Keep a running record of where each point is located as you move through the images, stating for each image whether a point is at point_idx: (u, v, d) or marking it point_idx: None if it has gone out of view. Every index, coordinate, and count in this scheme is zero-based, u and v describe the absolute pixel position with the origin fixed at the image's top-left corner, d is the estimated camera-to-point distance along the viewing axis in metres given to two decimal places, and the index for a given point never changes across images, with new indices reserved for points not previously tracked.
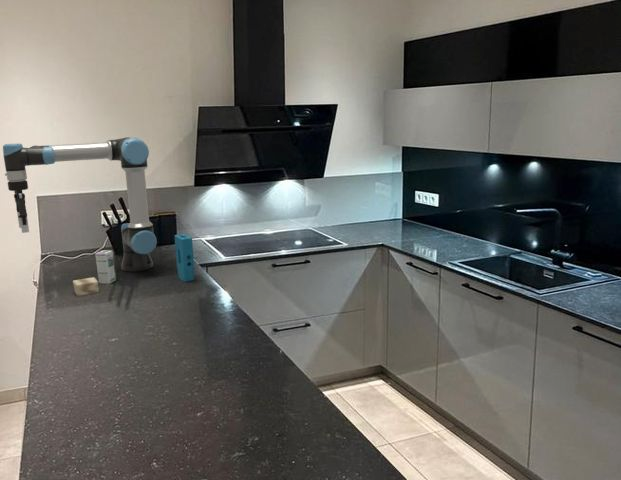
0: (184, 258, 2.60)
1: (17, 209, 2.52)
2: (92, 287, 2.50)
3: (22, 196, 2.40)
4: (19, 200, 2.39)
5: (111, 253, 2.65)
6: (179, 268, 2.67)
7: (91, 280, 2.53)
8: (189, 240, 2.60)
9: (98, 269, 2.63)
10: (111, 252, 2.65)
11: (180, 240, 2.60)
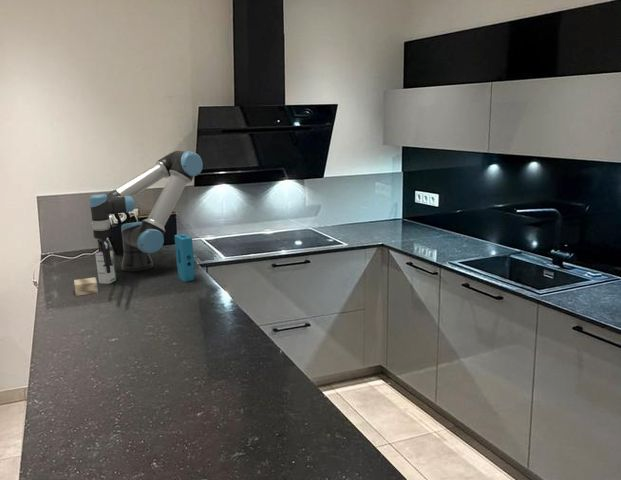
0: (184, 258, 2.60)
1: None
2: (91, 287, 2.49)
3: (108, 246, 2.58)
4: (105, 250, 2.58)
5: (111, 253, 2.65)
6: (179, 268, 2.67)
7: (91, 280, 2.53)
8: (189, 240, 2.60)
9: (98, 269, 2.63)
10: (111, 252, 2.65)
11: (180, 240, 2.60)
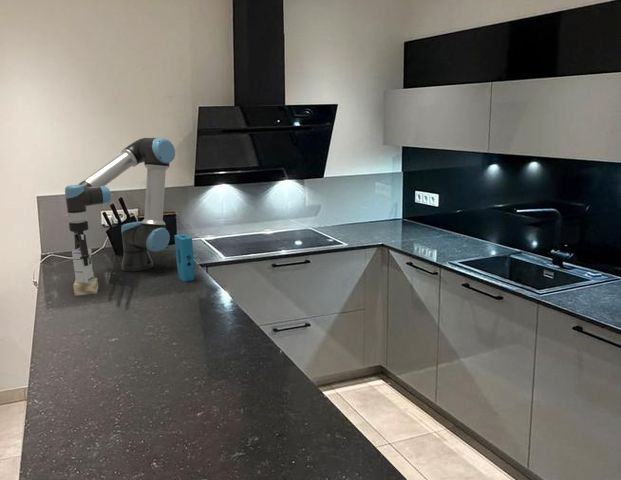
0: (184, 258, 2.60)
1: (76, 248, 2.54)
2: (90, 288, 2.49)
3: (84, 237, 2.42)
4: (81, 241, 2.42)
5: (89, 251, 2.50)
6: (179, 268, 2.67)
7: (91, 281, 2.52)
8: (189, 240, 2.60)
9: (75, 268, 2.48)
10: (89, 249, 2.50)
11: (180, 240, 2.60)
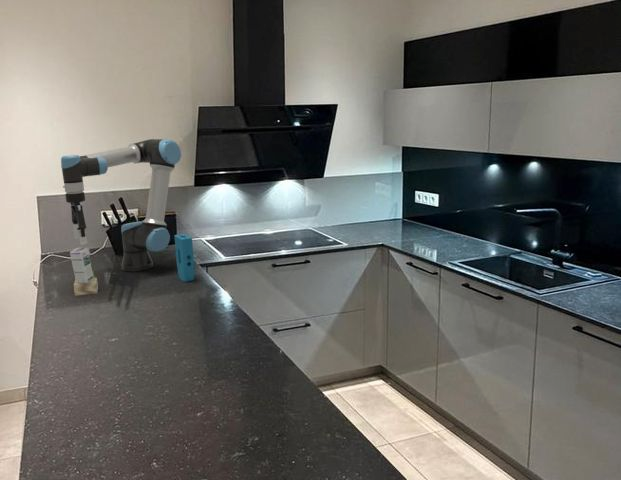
0: (184, 258, 2.60)
1: (73, 220, 2.51)
2: (90, 288, 2.49)
3: (81, 208, 2.40)
4: (78, 212, 2.39)
5: (87, 251, 2.49)
6: (179, 268, 2.67)
7: (91, 280, 2.53)
8: (189, 240, 2.60)
9: (74, 268, 2.48)
10: (87, 249, 2.49)
11: (180, 240, 2.60)
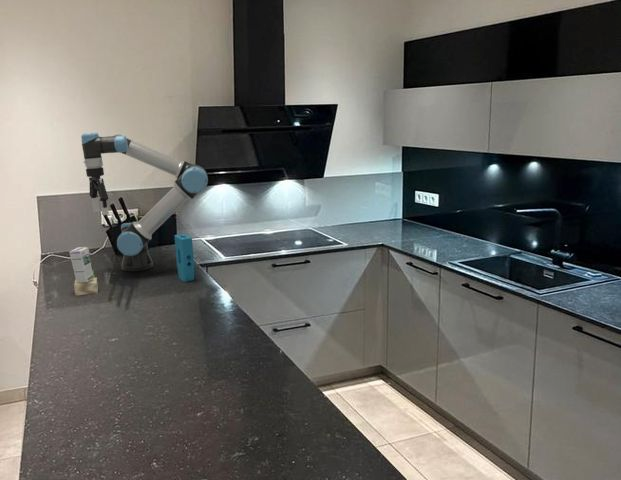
0: (184, 258, 2.60)
1: (92, 194, 2.71)
2: (90, 288, 2.49)
3: (102, 181, 2.60)
4: (100, 185, 2.59)
5: (86, 250, 2.50)
6: (179, 268, 2.67)
7: (91, 280, 2.53)
8: (189, 240, 2.60)
9: (74, 268, 2.49)
10: (86, 249, 2.50)
11: (180, 240, 2.60)
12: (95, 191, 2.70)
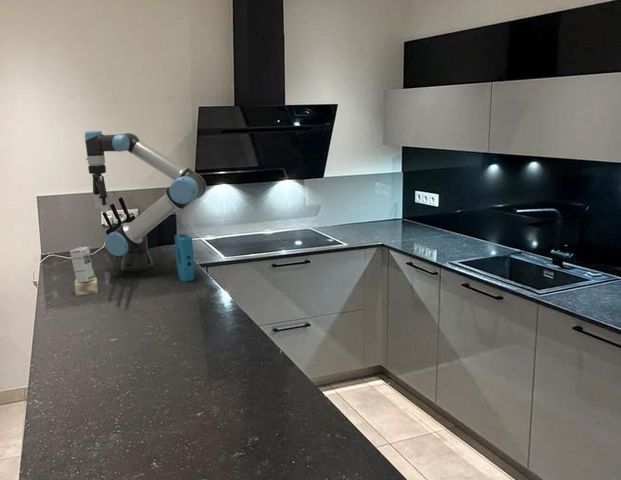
0: (184, 258, 2.60)
1: (94, 191, 2.75)
2: (91, 287, 2.49)
3: (102, 178, 2.63)
4: (100, 182, 2.62)
5: (87, 249, 2.51)
6: (179, 268, 2.67)
7: (92, 280, 2.53)
8: (189, 240, 2.60)
9: (74, 267, 2.49)
10: (87, 248, 2.51)
11: (180, 240, 2.60)
12: (97, 188, 2.74)
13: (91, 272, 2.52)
